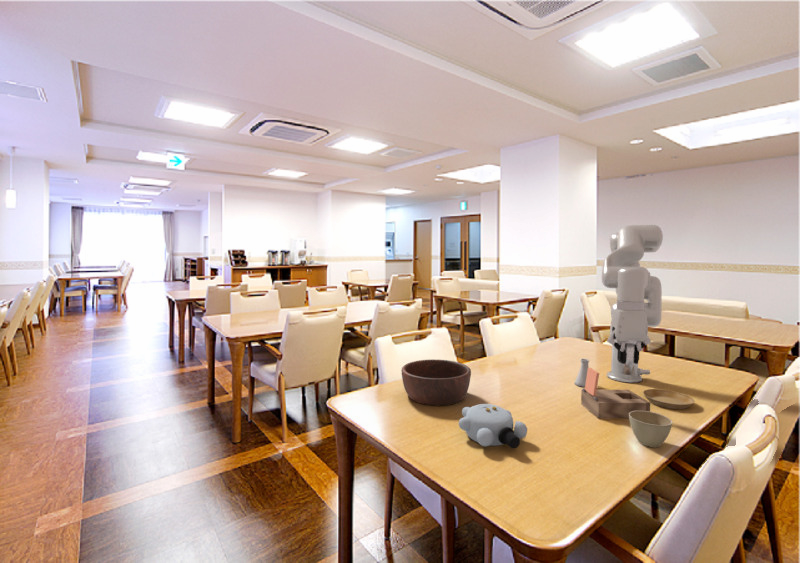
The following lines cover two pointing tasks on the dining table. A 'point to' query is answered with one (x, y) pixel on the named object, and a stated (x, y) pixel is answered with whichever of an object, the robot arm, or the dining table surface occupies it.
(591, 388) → the plate
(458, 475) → the dining table surface
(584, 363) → the flask
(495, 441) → the figurine
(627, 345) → the pin
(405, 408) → the dining table surface
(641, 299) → the robot arm
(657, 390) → the plant saucer
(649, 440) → the beige bowl
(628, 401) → the block
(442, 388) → the wooden bowl
